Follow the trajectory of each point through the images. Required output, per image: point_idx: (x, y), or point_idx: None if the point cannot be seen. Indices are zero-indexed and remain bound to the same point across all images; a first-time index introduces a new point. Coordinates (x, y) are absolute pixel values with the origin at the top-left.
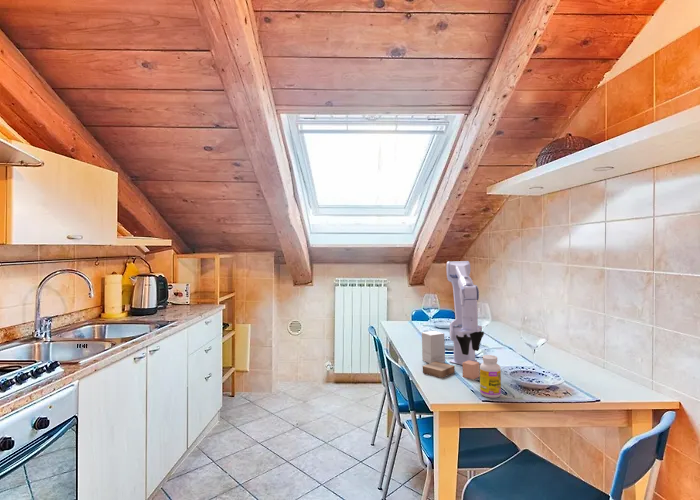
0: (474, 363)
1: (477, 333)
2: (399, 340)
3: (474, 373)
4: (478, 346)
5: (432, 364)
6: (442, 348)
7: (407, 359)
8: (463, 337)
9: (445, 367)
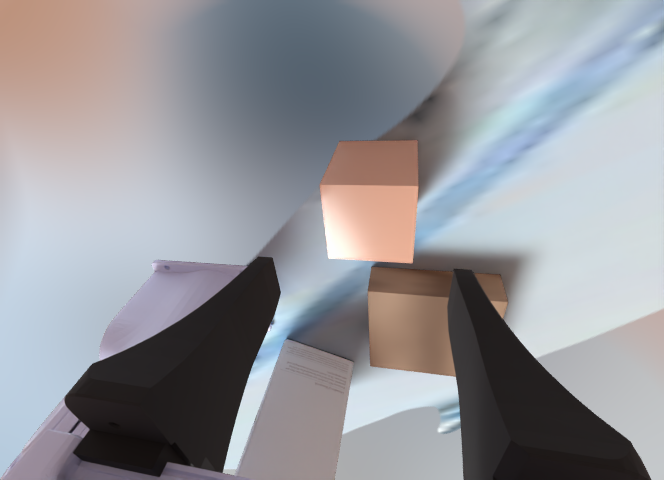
0: (369, 197)
1: (176, 428)
2: (228, 468)
3: (402, 155)
4: (253, 280)
5: (426, 361)
6: (278, 403)
7: (364, 422)
8: None
9: (430, 310)
